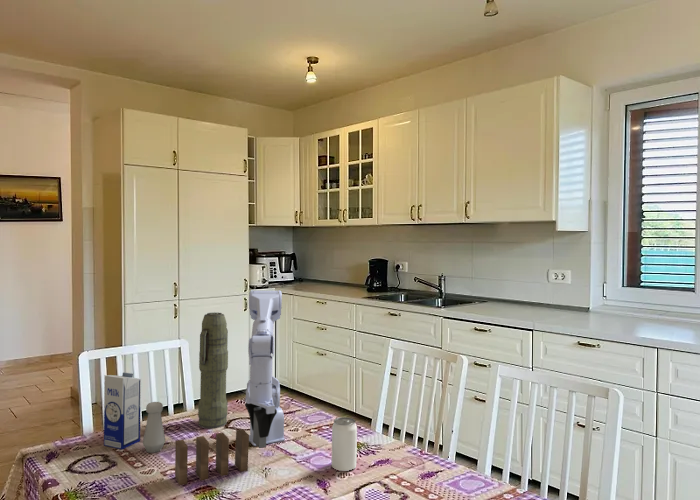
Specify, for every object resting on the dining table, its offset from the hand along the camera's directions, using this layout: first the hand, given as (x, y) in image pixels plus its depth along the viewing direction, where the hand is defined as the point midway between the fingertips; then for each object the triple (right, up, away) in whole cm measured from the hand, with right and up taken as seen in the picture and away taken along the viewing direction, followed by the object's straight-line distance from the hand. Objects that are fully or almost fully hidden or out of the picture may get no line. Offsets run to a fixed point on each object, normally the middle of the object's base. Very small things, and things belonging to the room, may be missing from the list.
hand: (260, 433), depth 134 cm
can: (+22, -9, -1) cm, 24 cm away
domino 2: (-13, -8, -8) cm, 17 cm away
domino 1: (-17, -8, -10) cm, 22 cm away
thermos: (-20, -7, +29) cm, 36 cm away
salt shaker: (-31, -8, +8) cm, 33 cm away
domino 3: (-9, -8, -5) cm, 13 cm away
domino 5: (0, -3, 0) cm, 3 cm away
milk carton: (-41, -7, +12) cm, 44 cm away
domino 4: (-4, -8, -2) cm, 9 cm away
